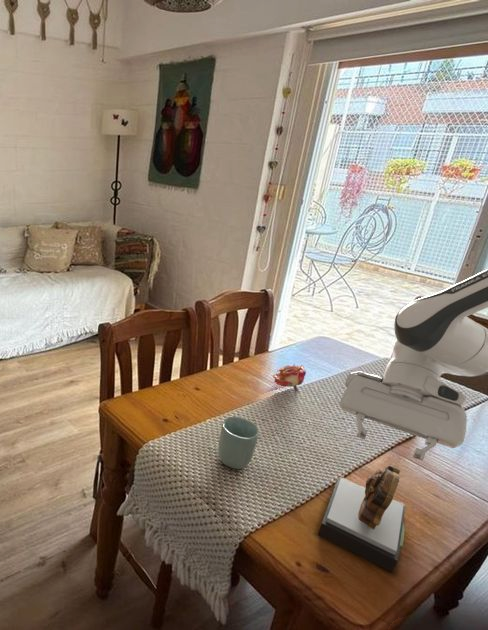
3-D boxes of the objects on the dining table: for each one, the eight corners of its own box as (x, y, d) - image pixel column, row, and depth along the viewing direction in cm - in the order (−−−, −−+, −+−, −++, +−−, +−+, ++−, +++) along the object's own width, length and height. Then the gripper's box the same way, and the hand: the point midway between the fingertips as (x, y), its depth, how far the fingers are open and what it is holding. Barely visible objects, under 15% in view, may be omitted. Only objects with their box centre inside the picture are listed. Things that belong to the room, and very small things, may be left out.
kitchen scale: (403, 518, 89) (410, 503, 87) (395, 574, 77) (403, 558, 76) (334, 487, 96) (339, 473, 94) (317, 534, 84) (323, 519, 83)
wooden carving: (360, 483, 92) (374, 444, 88) (386, 493, 89) (402, 454, 86) (350, 535, 80) (367, 493, 76) (380, 549, 77) (398, 507, 73)
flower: (315, 385, 132) (305, 359, 133) (307, 391, 125) (297, 364, 126) (283, 391, 138) (274, 367, 139) (273, 398, 131) (264, 372, 132)
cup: (246, 479, 98) (255, 443, 94) (211, 465, 101) (218, 430, 97) (253, 459, 104) (261, 424, 100) (220, 446, 107) (227, 412, 103)
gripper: (351, 363, 93) (329, 422, 90) (477, 399, 81) (458, 469, 78) (349, 373, 98) (328, 429, 95) (467, 409, 86) (449, 474, 83)
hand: (388, 448), depth 86 cm, fingers open, 8 cm apart
